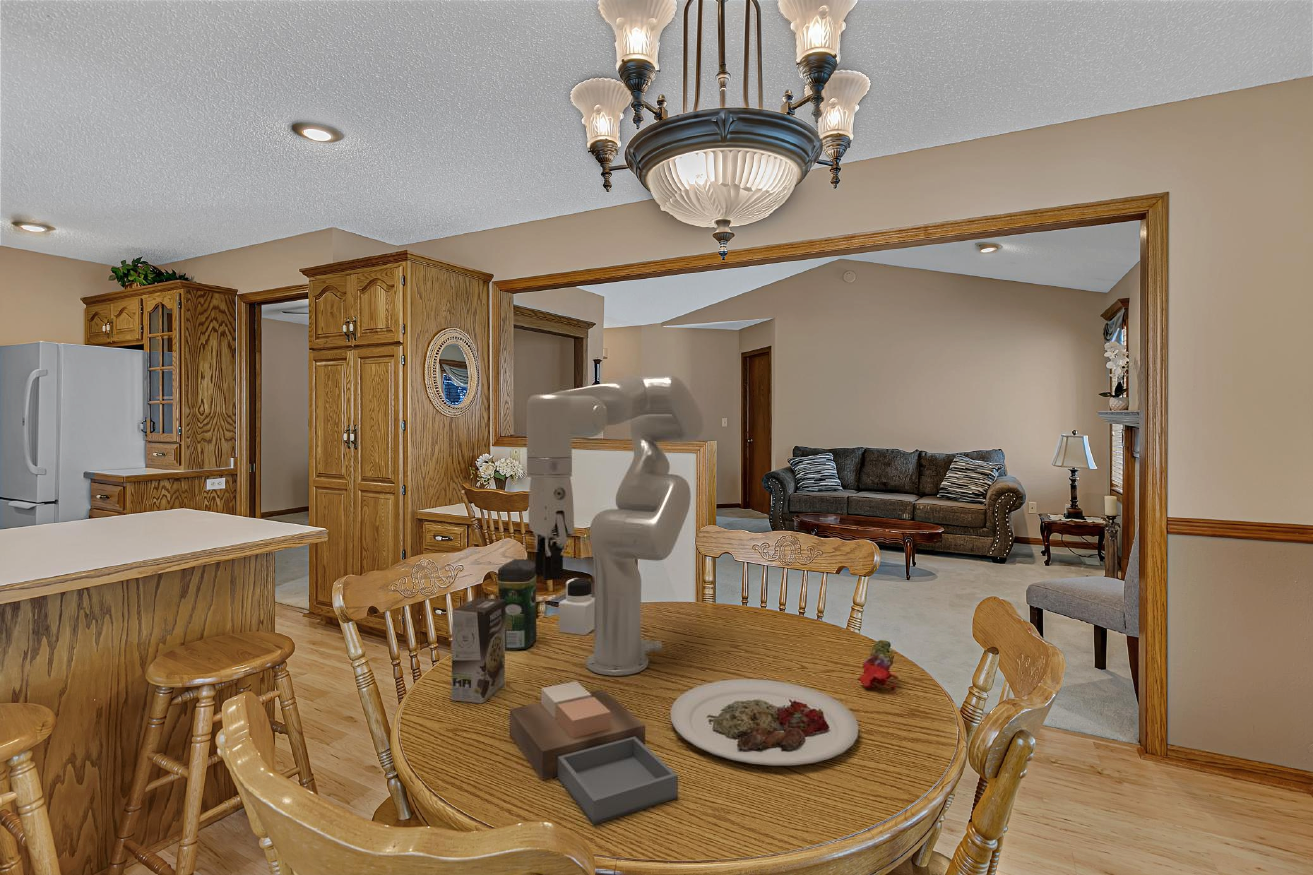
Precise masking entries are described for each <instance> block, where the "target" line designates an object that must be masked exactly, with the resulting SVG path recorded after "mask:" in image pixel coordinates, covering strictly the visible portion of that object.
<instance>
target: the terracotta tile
mask: <svg viewBox="0 0 1313 875" xmlns="http://www.w3.org/2000/svg"><path fill="white" fill-rule="evenodd" d="M557 722H558V723H559V724H560V725H561V726H562V727H563V728H564V729H565V730H566V732H567V733H568V734H569V735H570V736H571V737H572V738H575V737H579V736H583V735H587V734H591V733H595V732H599V731H603V730H607V729H611V712H610V711H609V710H608V709H607V708H606V707H605V706H604V705H602V704H601V703H600V702H599V701H598V700H597V699H596V698H595V697H591V698H586V699H582V700H577V701H573V702H568V703H563V704H559V705H557Z"/></svg>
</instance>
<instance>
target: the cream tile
mask: <svg viewBox="0 0 1313 875" xmlns="http://www.w3.org/2000/svg"><path fill="white" fill-rule="evenodd" d="M540 692H541V698H540V699H541V702H540V703H541V704H542V705H543V706H544V707H545V708H546V710H547V711H548V712H549V713H550V714H551V715H552V716H553V717H554V718H555V719H556V718H557V705H559V704H563V703H568V702H573V701H577V700H582V699H586V698H591V694H590V693H589V692H590V691H588V690H586V688H585V687H584V686H583V685H581V684H580V683H579V681H577V680H575V681H571V682H565V683H562V684H557V685H551V686H547V687H541V691H540Z"/></svg>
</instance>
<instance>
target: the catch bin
mask: <svg viewBox="0 0 1313 875" xmlns="http://www.w3.org/2000/svg"><path fill="white" fill-rule="evenodd" d="M557 779H558V781H559V782H560V784H561V785H562V786H563V787H564V789H565V790H566V792H567V793H568V794H569V795H570V796H571V798H572V799H573V801H574V803H576V805H577V806H578V807H579V808H580V810H581V811H582V812H583V814H584V815H585V816H586V818H587V819H588V820H589V821H590V823H591V824H592V826H596V825H600V824H603V823H606V822H609V821H612V820H615V819H618V818H620V817H624V816H626V815H630V814H633V813H636V812H639V811H642V810H645V809H648V808H651V807H654V806H657V805H660V804H663V803H667V802H670V801H672V800H676V799H678V798H679V797H678V796H679V775H678V774H677V773H676V772H675V771H674V770H673V769H672V768H671V767H669V766H668V764H666V763H665V762H664V761H663V760H662V759H661V758H660V757H659V756H658V755H657V754H655V753H654V752H653V751H652V750H650V748H648V746H646V744H645V745H644V744H643V743H642V742H641V741H639V740H638V739H637V738H636V737H631V738H627V739H623V740H619V741H616V742H612V743H608V744H604V745H600V746H597V747H593V748H589V749H585V750H581V751H577V752H574V753H570V754H566V755H562V756H558V776H557Z"/></svg>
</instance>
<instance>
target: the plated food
mask: <svg viewBox="0 0 1313 875" xmlns="http://www.w3.org/2000/svg"><path fill="white" fill-rule="evenodd" d="M669 713H670V714H669V715H670V721H671V724H672V726H673V728H674V729H675V731H676V732H677V733H678V734H679V735H680V736H681V737H682V738H683V739H684V740H686V741H687V742H689V743H691V744H692V745H693V746H695V747H697V748H699V749H701V750H703V751H705V752H708V753H710V754H712V755H715V756H719V757H721V758H726V759H728V760H732V761H737V762H742V763H747V764H754V765H764V766H799V765H808V764H814V763H818V762H823V761H825V760H830V759H832V758H835V757H837V756H839V755H842V754H843V753H845V752H846V751H847V750H848V749H849V748H851V747H852V746H853V745H854V743H855V742H856V741H857V738H858V736H859V724H858V721H857V718H856V716H854V714H853V713H852V712H851V710H850V709H849V708H847V707H846V706H845V705H844V704H843V703H841V702H840V701H838V700H836V699H835V698H833V697H832V696H829V695H827V694H825V693H823V692H820V691H818V690H816V689H812V688H808V687H806V686H802V685H800V684H794V683H789V682H786V681H785V682H784V681H777V680H772V679H771V680H770V679H760V678H759V679H757V678H748V679H746V678H741V679H740V678H739V679H728V680H727V679H726V680H725V679H724V680H719V681H714V682H709V683H705V684H703V685H699V686H696V687H693V688H690V690H689V689H688V690H687V691H685V692H684V693H682V694H681V695H680V696H678V697H677V699H675V701H674V702H673V704H672V705H671V709H670V712H669Z"/></svg>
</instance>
